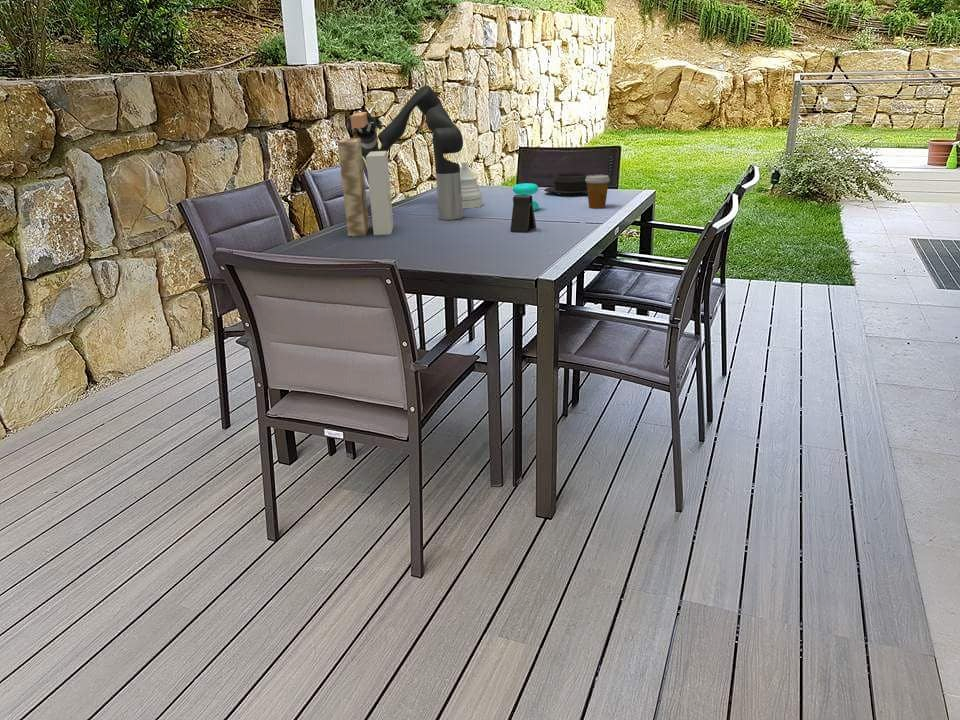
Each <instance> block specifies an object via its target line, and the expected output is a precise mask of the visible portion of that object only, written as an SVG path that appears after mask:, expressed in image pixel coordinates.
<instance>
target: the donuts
mask: <svg viewBox="0 0 960 720" xmlns="http://www.w3.org/2000/svg"><path fill="white" fill-rule="evenodd" d="M512 191H513V193H514V194H515V195H533V194H536V193H537V192H538V191H539V186H538V185H537V184H536V183H532V182H531V183H530V182H529V183H528V182H527V183H525V182H524V183H518V184H517V183H516V184H515V185H513V187H512ZM532 204H533V210H534V212H535V211H537V210H538V209H539V203H538V202H537V201H535V200H532Z"/></svg>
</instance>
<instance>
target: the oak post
mask: <svg viewBox="0 0 960 720" xmlns="http://www.w3.org/2000/svg"><path fill="white" fill-rule="evenodd" d="M337 147H338V149H337V150H338V158H339V165H340V166H339V167H340V174H341V185H342V193H343V200H344V201H343V202H344V209H345V220H346V229H347V237H349V236H352V237H365V236H366V235H367V233H368V230H369V229H370V220H369V209H368V200H367V191H366V190H367V189H366V182H365V181H366V180H365V171H364V161H363V159H364V158H363V156H362V149H361V139H360V138H357V137H351V138H349V137H348V138H342V139H341V140H340V141H338V142H337Z"/></svg>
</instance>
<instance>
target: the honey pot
mask: <svg viewBox="0 0 960 720" xmlns="http://www.w3.org/2000/svg"><path fill="white" fill-rule="evenodd" d="M460 164H461V166H460V179H461V194H462V210H464V209H463V208H472V209H476V208H475V207H478V208H481V207H483V196H482V191H481V189H480V187H479V183H478V179H479V177H478V176H477V175H475V174H474V173H473V171H472V169H470V167H469V166H468V161H467V162H466V161H461V162H460ZM480 206H481V207H480Z"/></svg>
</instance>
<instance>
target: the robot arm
mask: <svg viewBox="0 0 960 720" xmlns="http://www.w3.org/2000/svg"><path fill="white" fill-rule="evenodd" d="M416 107H417V108H418V110H419V111H420V112H421V113H422V114H423V115H424V117H425V123H426V125H427V128H428V129H429V131H430V132H431V133H432V145H433V152H434V153H433V155H434V165H435V167H434V168H435V179H436V180H435V183H436V184H435V185H436V194H437V195H436V196H437V197H436V198H437V210H438V211H437V212H438V213H437V214H438V219H439V220H443V221H449V220H450V221H452V220H460V219H464V216H463V214H464V213H463V209H462V194H461V179H460V168H461V166H460V164H459V163H457V162H453V161H451V160H448V159H446V158H445V154H456V153H459V152H461V151H462V149H463V148H464V147H463V146H464V138H463V134H462V132H461V130H460V129H459V127H458V126H457V125H456V124H455V123H454V122H453V121H452V119H451V117H450V115H449V113H448V112H447V109H445V108H444V107H443V103H442V100H441V99H440V98H439V96H438V95H437V93H436V92H435V91H434V89H433V88H432V87H431V86H430V85H426V84H425V85H423V86H421V87H420V88H418V90H416V91H415V92H414V93H413V95H412V96H411V97H410V98H409V99H408V101H407V102H406V103H405V105H404V106H403V107H402V108H401V110H399V112H398V114H397V115H396V116H394V118H393V119H392V120H391V121H390V122H389V123H388V125H387V126H385V128H383V124H382V121H381V120H379V118H378V117H377V116H373V117H372V115H371V113H370V112H369V111H365V112H366V113H367V120H368V124H367V125H366V126H365V127H363V128H352V126H351V117H348V121H347V123H346V131H348V132H350V131H351V130H353V131H354V132H355V134H356V138H360V139H361V149H362V158H363V159H365V160H366V156H367V155H368V154H369V153H370V152H376V151H387V153H388V152H389V150H390V149H391V147H393V145H395V143H397V142H398V141H399V140H400V139H401V137H403V135H404V133H405V132H406V129H407V126H408V122H409V119H410V116H411V114H412V112H413V111H414V109H415V108H416ZM355 113H356V112H354V113H353V114H355ZM376 129H378V130H381V132H378V133H379V134H378V135H377V131H376ZM378 141H379V142H380V144H381V146H380V148H379V143H378Z"/></svg>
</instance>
